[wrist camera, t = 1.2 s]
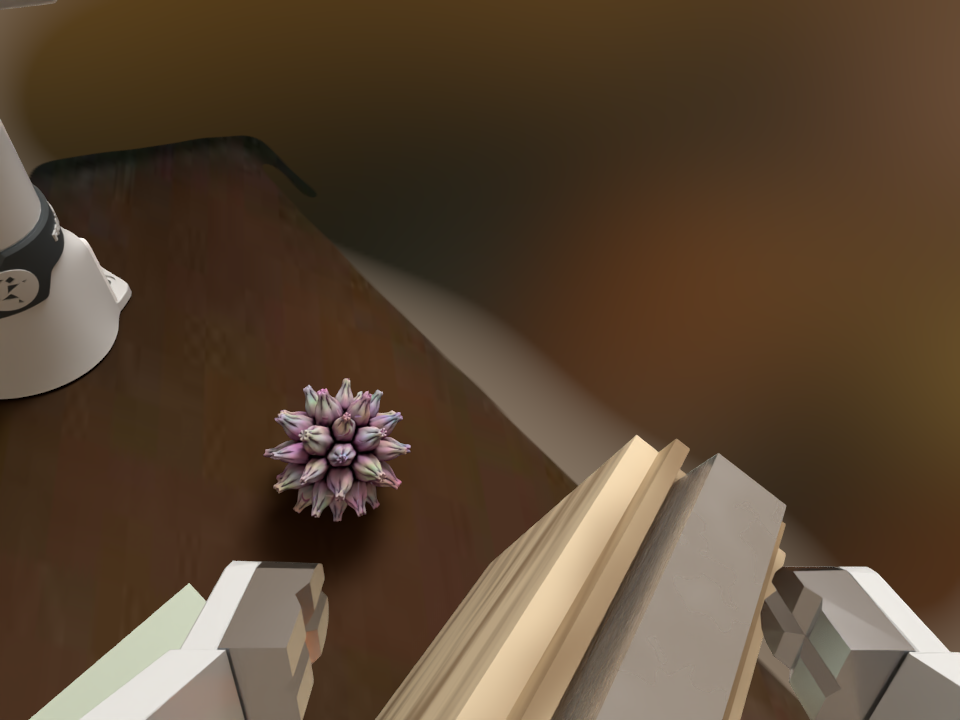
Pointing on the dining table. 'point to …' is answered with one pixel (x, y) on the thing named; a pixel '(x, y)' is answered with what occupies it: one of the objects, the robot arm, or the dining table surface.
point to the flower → (337, 451)
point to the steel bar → (682, 604)
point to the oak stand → (554, 602)
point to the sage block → (128, 657)
